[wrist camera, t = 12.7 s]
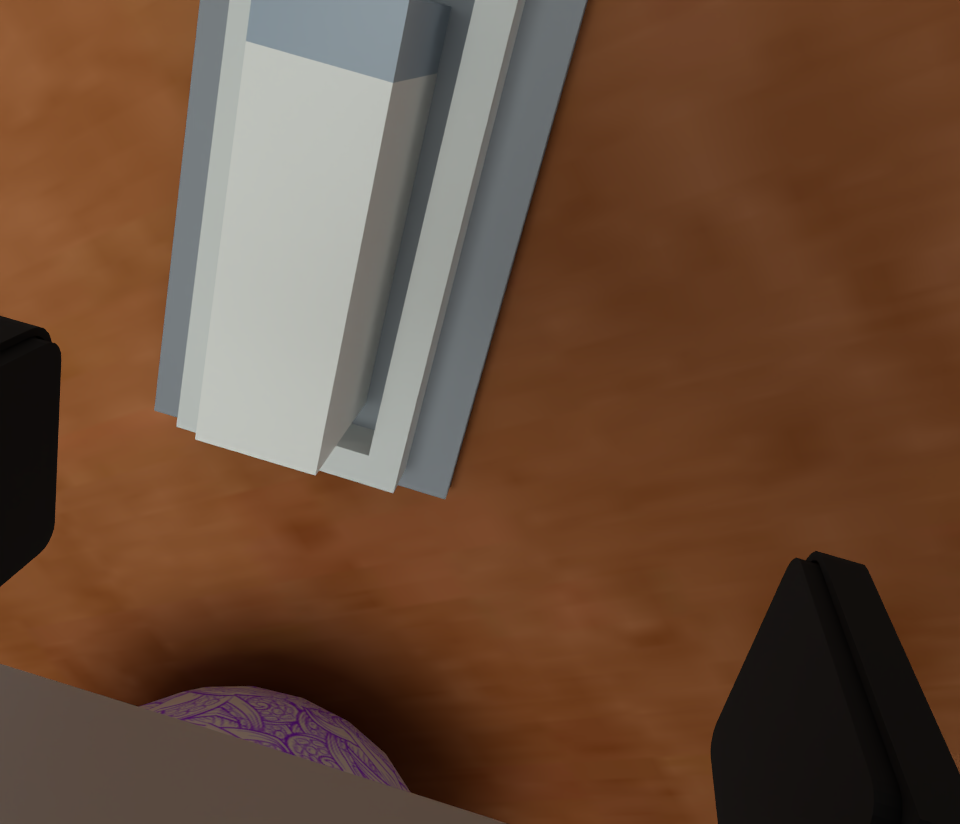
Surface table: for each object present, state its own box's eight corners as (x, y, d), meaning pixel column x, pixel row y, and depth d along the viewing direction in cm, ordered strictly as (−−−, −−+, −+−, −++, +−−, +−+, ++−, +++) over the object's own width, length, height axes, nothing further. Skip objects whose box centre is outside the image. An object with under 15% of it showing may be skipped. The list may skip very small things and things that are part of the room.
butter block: (365, 402, 33) (315, 475, 28) (264, 372, 33) (194, 439, 28) (451, 6, 27) (409, 0, 22) (329, -29, 27) (256, -43, 22)
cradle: (449, 487, 35) (435, 525, 32) (166, 400, 36) (128, 430, 33) (605, -61, 27) (603, -72, 24) (232, -167, 27) (189, -190, 24)
